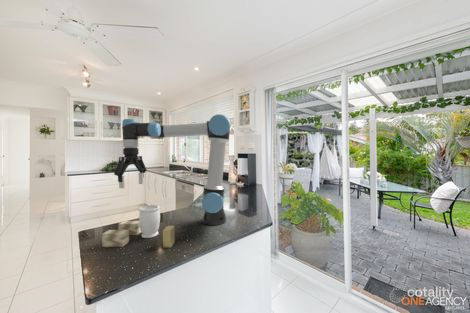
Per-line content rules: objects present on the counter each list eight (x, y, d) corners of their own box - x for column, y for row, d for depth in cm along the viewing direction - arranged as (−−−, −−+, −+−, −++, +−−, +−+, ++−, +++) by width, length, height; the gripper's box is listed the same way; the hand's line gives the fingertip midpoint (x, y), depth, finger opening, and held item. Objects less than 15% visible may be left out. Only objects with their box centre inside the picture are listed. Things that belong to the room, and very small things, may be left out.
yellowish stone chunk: (174, 241, 100) (174, 225, 100) (170, 247, 94) (170, 230, 94) (167, 241, 100) (167, 225, 100) (163, 247, 94) (162, 230, 94)
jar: (152, 240, 102) (152, 210, 101) (134, 238, 104) (134, 209, 103) (164, 231, 112) (163, 205, 112) (147, 230, 114) (147, 204, 114)
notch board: (141, 231, 113) (141, 220, 113) (123, 246, 95) (122, 233, 95) (123, 231, 113) (123, 220, 113) (102, 246, 95) (101, 234, 95)
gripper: (141, 147, 124) (143, 182, 125) (104, 147, 101) (106, 189, 101) (152, 147, 122) (153, 182, 123) (116, 147, 98) (118, 190, 99)
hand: (132, 186), depth 112 cm, fingers open, 13 cm apart
